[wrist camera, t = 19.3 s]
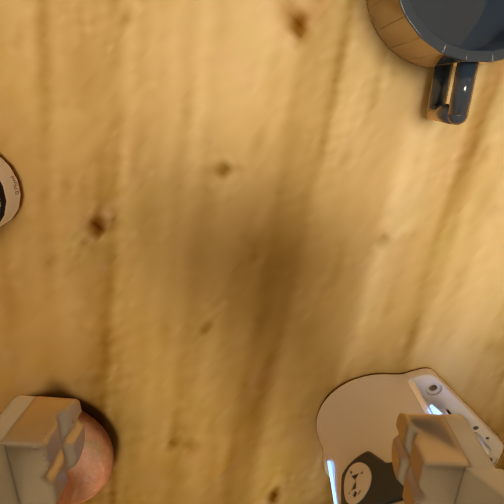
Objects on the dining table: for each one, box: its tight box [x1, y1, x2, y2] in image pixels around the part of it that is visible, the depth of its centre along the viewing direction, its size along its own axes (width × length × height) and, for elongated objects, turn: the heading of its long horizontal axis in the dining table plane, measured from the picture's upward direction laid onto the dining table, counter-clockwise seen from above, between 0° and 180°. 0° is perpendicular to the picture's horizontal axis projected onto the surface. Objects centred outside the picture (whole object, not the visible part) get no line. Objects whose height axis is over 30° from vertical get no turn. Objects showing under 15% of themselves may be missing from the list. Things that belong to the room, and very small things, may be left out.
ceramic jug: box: [56, 411, 114, 504], centre depth 45 cm, size 18×14×14 cm
